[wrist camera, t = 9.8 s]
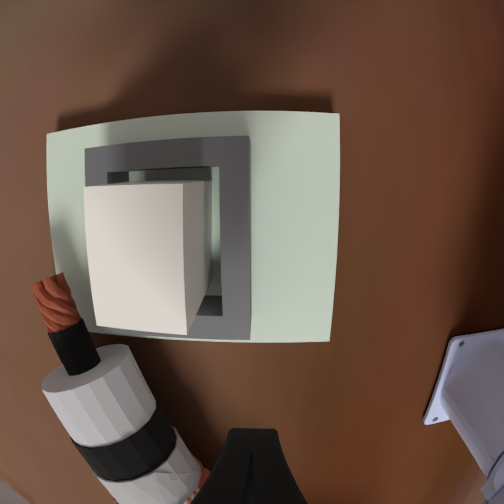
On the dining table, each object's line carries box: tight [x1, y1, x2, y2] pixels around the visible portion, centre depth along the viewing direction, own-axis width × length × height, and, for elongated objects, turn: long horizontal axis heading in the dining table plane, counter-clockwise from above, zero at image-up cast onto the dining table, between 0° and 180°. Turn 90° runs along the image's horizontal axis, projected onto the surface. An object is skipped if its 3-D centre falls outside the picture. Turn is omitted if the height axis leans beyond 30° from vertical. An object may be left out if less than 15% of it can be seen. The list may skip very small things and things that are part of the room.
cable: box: [31, 272, 210, 504], centre depth 17 cm, size 10×34×10 cm, turn 16°
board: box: [47, 111, 340, 342], centre depth 15 cm, size 16×12×4 cm
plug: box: [84, 180, 212, 335], centre depth 13 cm, size 4×5×6 cm
